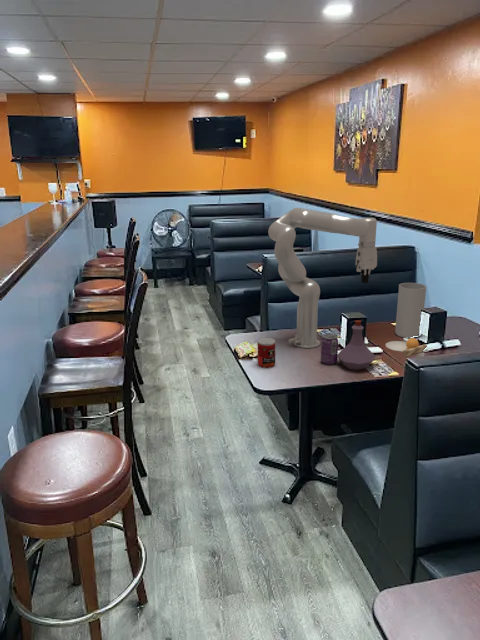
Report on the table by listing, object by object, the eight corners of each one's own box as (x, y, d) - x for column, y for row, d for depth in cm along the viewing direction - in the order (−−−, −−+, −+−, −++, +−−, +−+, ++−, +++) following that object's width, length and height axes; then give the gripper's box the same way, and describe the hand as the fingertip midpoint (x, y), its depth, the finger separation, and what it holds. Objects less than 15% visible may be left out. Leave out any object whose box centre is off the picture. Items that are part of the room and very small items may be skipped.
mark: (401, 353, 225) (401, 353, 225) (379, 345, 236) (379, 344, 236) (420, 347, 232) (420, 347, 231) (398, 339, 242) (398, 339, 242)
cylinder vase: (423, 339, 242) (428, 289, 234) (396, 338, 244) (400, 288, 236) (419, 330, 254) (424, 283, 246) (393, 329, 256) (397, 282, 248)
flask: (333, 358, 222) (335, 315, 215) (371, 358, 221) (374, 315, 214) (338, 373, 206) (340, 327, 200) (378, 373, 205) (382, 327, 199)
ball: (410, 353, 227) (415, 344, 224) (401, 345, 231) (406, 336, 227) (418, 351, 230) (423, 342, 227) (409, 343, 233) (414, 334, 230)
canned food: (263, 369, 211) (263, 345, 208) (254, 363, 218) (254, 339, 214) (278, 366, 214) (279, 342, 211) (269, 359, 221) (269, 336, 218)
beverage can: (338, 360, 219) (339, 334, 216) (335, 366, 213) (337, 339, 209) (322, 358, 222) (323, 332, 218) (319, 364, 215) (320, 338, 211)
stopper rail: (405, 356, 221) (405, 351, 221) (402, 355, 223) (403, 350, 222) (426, 350, 228) (427, 345, 227) (423, 349, 229) (424, 344, 229)
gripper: (361, 247, 228) (358, 286, 234) (384, 244, 235) (381, 281, 241) (349, 245, 234) (347, 283, 240) (372, 242, 241) (370, 279, 247)
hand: (364, 282), depth 240 cm, fingers closed
